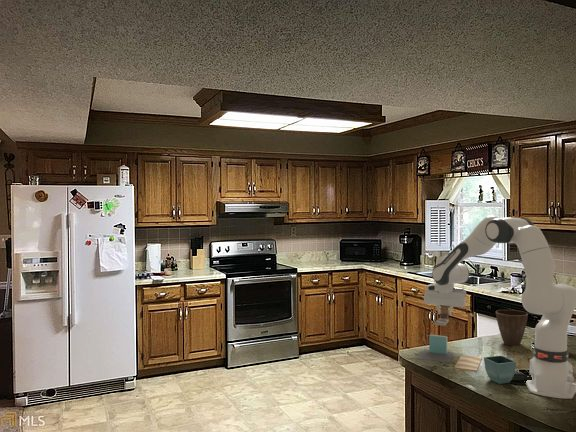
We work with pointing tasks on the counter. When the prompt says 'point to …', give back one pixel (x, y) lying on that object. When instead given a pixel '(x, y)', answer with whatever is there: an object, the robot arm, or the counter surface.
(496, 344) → the counter surface
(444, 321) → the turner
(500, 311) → the plant pot
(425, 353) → the mat
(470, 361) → the board
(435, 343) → the tile
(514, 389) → the counter surface
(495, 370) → the flower pot
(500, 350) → the counter surface
